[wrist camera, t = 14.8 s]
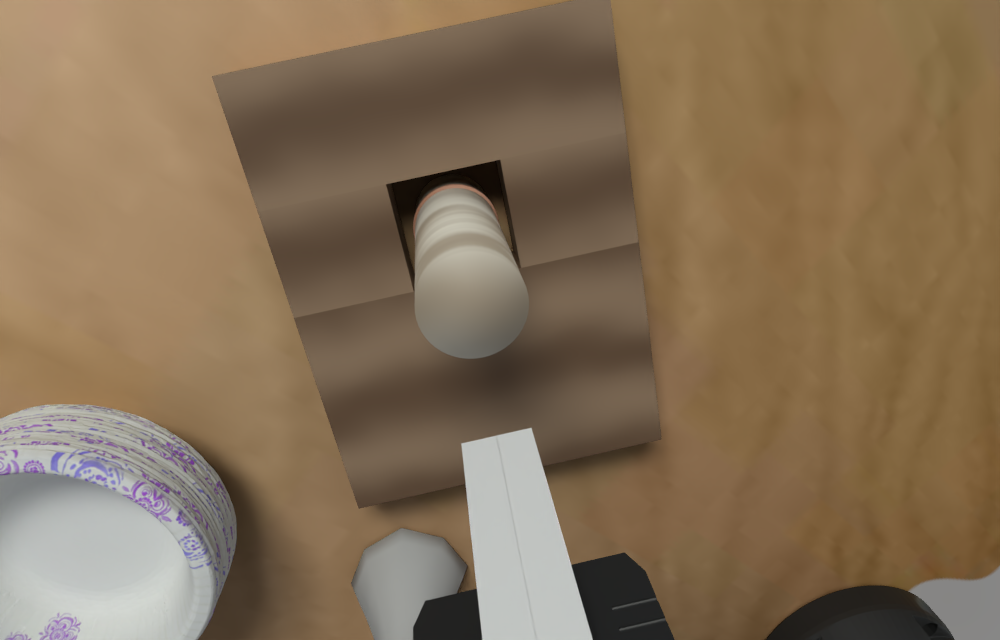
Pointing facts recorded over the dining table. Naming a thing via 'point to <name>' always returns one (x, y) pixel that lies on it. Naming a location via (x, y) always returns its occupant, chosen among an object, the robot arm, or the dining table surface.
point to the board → (385, 257)
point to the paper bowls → (107, 528)
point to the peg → (465, 271)
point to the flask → (404, 580)
